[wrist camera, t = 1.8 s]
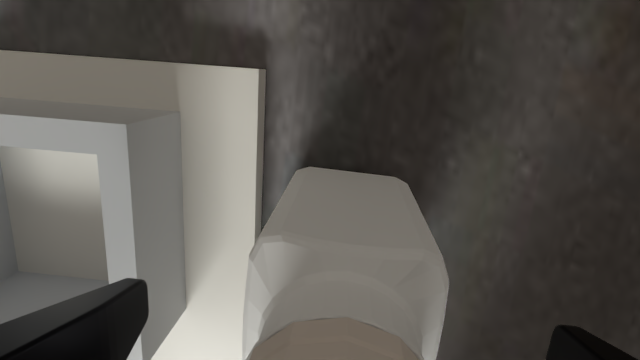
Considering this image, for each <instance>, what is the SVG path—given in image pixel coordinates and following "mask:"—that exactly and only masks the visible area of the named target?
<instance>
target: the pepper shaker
mask: <svg viewBox="0 0 640 360" xmlns="http://www.w3.org/2000/svg"><path fill="white" fill-rule="evenodd" d="M448 290H449V277H448V274H447V270H446V266H445V263H444V259H443V256H442V254H441V252H440V250H439V248H438V246H437V244H436V242H435V240H434V237H433V235H432V233H431V231H430V229H429V227H428V225H427V223H426V221H425V219H424V217H423V215H422V213H421V211H420V209H419V206H418V204H417V202H416V200H415V198H414V196H413V194H412V192H411V190H410V188H409V186H408V184H407V183H405V182H404V181H402V180H400V179H398V178H396V177H392V176H384V175H375V174H367V173H359V172H350V171H342V170H334V169H325V168H317V167H306V168H303V169H299V170H296V172H295V174H294V175H293V177H292V179H291V181H290V182H289V184H288V186H287V188H286V189H285V191H284V193H283V195H282V196H281V198H280V200H279V202H278V204H277V205H276V207H275V209H274V211H273V212H272V214H271V216H270V218H269V219H268V221H267V223H266V225H265V226H264V228H263V230H262V232H261V233H260V235H259V237H258V239H257V241H256V243H255V244H254V246H253V248H252V250H251V252H250V253H249V260H248V270H247V279H246V288H245V300H244V313H243V335H242V360H436V357H437V353H438V348H439V343H440V338H441V333H442V328H443V323H444V317H445V310H446V304H447V297H448Z"/></svg>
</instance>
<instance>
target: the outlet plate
mask: <svg viewBox="0 0 640 360" xmlns="http://www.w3.org/2000/svg"><path fill="white" fill-rule="evenodd" d="M265 86H266V69H255V68H241V67H228V66H214V65H200V64H187V63H173V62H159V61H146V60H132V59H118V58H105V57H91V56H77V55H64V54H50V53H36V52H23V51H9V50H0V324H2V323H4V322H7V321H10V320H13V319H15V318H18V317H21V316H24V315H26V314H29V313H32V312H35V311H37V310H40V309H43V308H46V307H48V306H51V305H54V304H56V303H59V302H62V301H65V300H67V299H70V298H73V297H76V296H78V295H81V294H84V293H87V292H89V291H92V290H95V289H98V288H100V287H103V286H106V285H109V284H111V283H114V282H117V281H119V280H122V279H125V278H135V279H143V280H145V281H146V283H147V287H148V303H149V316H148V319H147V322H146V324H145V326H144V328H143V330H142V332H141V334H140V336H139V337H138V339H137V341H136V343H135V345H134V347H133V349H132V351H131V352H130V354H129V356H128V358H127V360H242V335H243V313H244V300H245V288H246V279H247V270H248V260H249V253H250V252H251V250H252V248H253V246H254V244H255V243H256V241H257V239H258V237H259V235H260V233H261V221H262V187H263V154H264V120H265Z"/></svg>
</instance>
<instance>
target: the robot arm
mask: <svg viewBox="0 0 640 360" xmlns="http://www.w3.org/2000/svg"><path fill="white" fill-rule="evenodd" d="M148 316H149V303H148V287H147V283H146V281H145V280H143V279H135V278H125V279H122V280H119V281H117V282H114V283H111V284H109V285H106V286H103V287H100V288H98V289H95V290H92V291H89V292H87V293H84V294H81V295H78V296H76V297H73V298H70V299H67V300H65V301H62V302H59V303H56V304H54V305H51V306H48V307H46V308H43V309H40V310H37V311H35V312H32V313H29V314H26V315H24V316H21V317H18V318H15V319H13V320H10V321H7V322H4V323H2V324H0V360H127V358H128V356H129V354H130V352H131V351H132V349H133V347H134V345H135V343H136V341H137V339H138V337H139V336H140V334H141V332H142V330H143V328H144V326H145V324H146V322H147V319H148ZM546 360H638V359H636V358H634V357H632V356H631V355H629V354H627V353H625V352H623V351H622V350H620V349H618V348H616V347H614V346H613V345H611V344H609V343H607V342H605V341H604V340H602V339H600V338H598V337H596V336H594V335H593V334H591V333H589V332H587V331H585V330H584V329H582V328H580V327H577V326H569V325H558V326H556V327H555V329H554V331H553V334H552V338H551V341H550V345H549V348H548V352H547V356H546Z"/></svg>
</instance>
